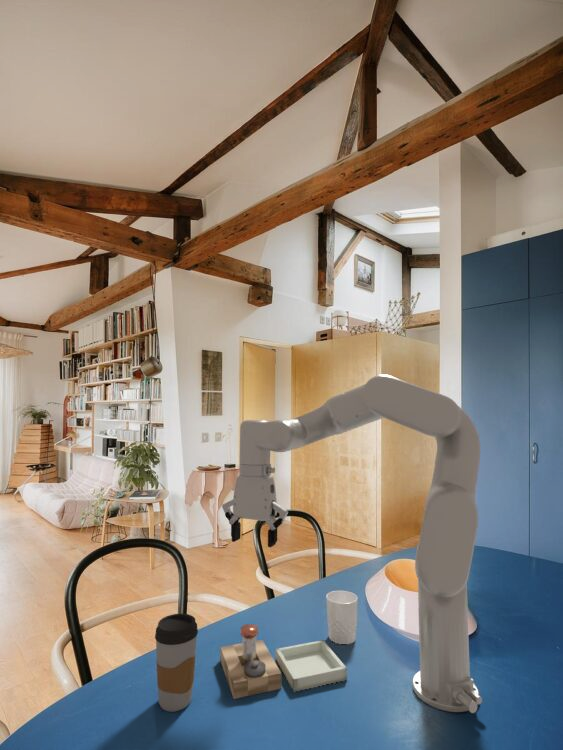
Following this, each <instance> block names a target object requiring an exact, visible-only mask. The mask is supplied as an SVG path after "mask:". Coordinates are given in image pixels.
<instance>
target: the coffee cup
mask: <svg viewBox="0 0 563 750" xmlns="http://www.w3.org/2000/svg"><path fill="white" fill-rule="evenodd" d="M198 633H199V631H198V623H197V622H196V618H195V617H194V616H193V615H192V614H188V613H173V614H169V615H166V616H164V617H162V618H161V619H160V620H158V623H157V626H156V628H155V634H154V638H155V645H156V677H157V679H156V680H157V681H156V683H157V689H158V690H157V692H158V704H159V706H160V708H161V709H162V710H164V711H166V712H178V711H181V710H184V709H185V708H187V707H189V704H190V703H191V701H192V698H193V692H194V691H193V690H194V680H195V670H196V669H195V667H196V651H197V648H196V647H197V637H198V636H197V635H198Z"/></svg>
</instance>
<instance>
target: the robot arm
mask: <svg viewBox="0 0 563 750" xmlns="http://www.w3.org/2000/svg"><path fill="white" fill-rule="evenodd" d="M382 419H386V420H387V421H388V420H389V421H391V422H394V423H397V424H398V425H401V426H403V427H406V428H408V429H411V430H414V431H416V432H418V433H422V434H424V435H425V436H428V437H433V438H435V440H436V455H435V459H434V468H433V473H432V479H431V484H430V488H429V491H428V494H427V496H426V500H425V504H424V510H423V511H424V512H423V518H422V524H421V529H420V534H419V540H418V544H417V548H416V553H415V561H414V570H415V575H416V577H417V590H418V591H417V593H418V594H417V598H418V609H417V610H418V634H419V635H418V639H419V641H418V642H419V643H418V645H419V671H417V673H415V674H414V675H413V678H412V688H413V691H414V693H415V694H416V696H417V697H418V698H419V699H420V700H422V702H424V703H425V704H427V705H429V706H431V707H433V708H435V709H438V710H441V711H444V712H450V713H464V712H469V713H471V714H475V713H476V712H477V710H478V707H479V706H478V705H481V704H482V703H483V698H482V696H480V692H479V689H478V687H477V686H476V684H475V683H474V679H473V678H472V677H471V675H470V674H471V673H470V672H471V671H470V670H471V669H470V645H469V610H468V606H469V605H468V586H467V582H468V581H469V576H470V571H471V566H472V561H473V555H474V549H475V543H476V538H477V532H478V525H479V511H478V508H477V504H476V499H475V498H476V488H477V483H478V479H479V477H478V476H479V470H480V460H481V442H480V436H479V432H478V430H477V428H476V425H475V424H474V422H473V420H472V419H471V417H470V416H469V414H467V412H466V411H465V410H463V408H461V407H460V405H458V404H457V403H456V401H454V399H452V398H450V397H449V396H447V395H444V394H441V393H438V392H435V391H433V390H429V389H427V388H424V387H421V386H418V385H416V384H412V383H411V382H408V381H405V380H403V379H399V378H397V377H395V376H393V375H389V374H377V375H375V376H373V377H371V378H370V379H369V380H367V382H365V384H362V385H360V386H358V387H357V386H356V387H355V388H352V389H350V390H348V391H345V392H342V393H340V394H337V395H335V396H332V397H331V398H329V399H327V400H326V402H324V404H322V405H321V406H320V407H318V408H316V409H314V410H312V411H309V412H307V413H305V414H302V415H299V416H295V417H294V418H291V419H290V418H289V419H288V418H287V419H278V420H269V421H268V420H263V419H261V420H260V419H249V420H248V419H247V420H246V419H245V420H243V421H242V422H240V425H239V426H240V427H239V465H238V467H239V470H238V471H239V472H238V475H237V476H236V479H235V484H234V489H233V499H231V500H229V501H227V502H224V503H223V504H222V505H221V508H222V509H223V513H224V515H225V518H226V519H227V520H228V523H229V524H230V536H231V542H233V543H235V542H236V541H238V540H240V539H241V531H242V529H241V528H242V527H241V526H242V525H241V522H240V520H241V519H246V520H253V521H260V522H261V521H262V522H264V521H265V523H266V525H268V527H269V529H268V530H267V547H268V548H272V547H274V546H275V545H276V544H277V542H278V528H279V527H280V526H281V525H282V524H283V523H284V522H285V520H286V518H287V515H288V513H289V511H288V510H287V509H286V508H285V507H284V506H282V505H280V504H279V503H277V491H276V483H275V479H274V476H271V475H272V474H275V472H276V468H275V467H273V466H272V463H271V452H275V453H286V452H290V451H293V450H298V449H300V448H303V447H305V446H307V445H311V444H314V443H317V442H319V441H321V440H324V439H326V438H330V437H333V436H337V435H341V434H344V433H347V432H350V431H352V430H354V429H358V428H360V427H363V426H364V425H365V426H366V425H369V424H370V423H374V422H376V421H379V420H382ZM231 507H232V510H231ZM277 514H279V516H278V518H277V519H276V516H277Z"/></svg>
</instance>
